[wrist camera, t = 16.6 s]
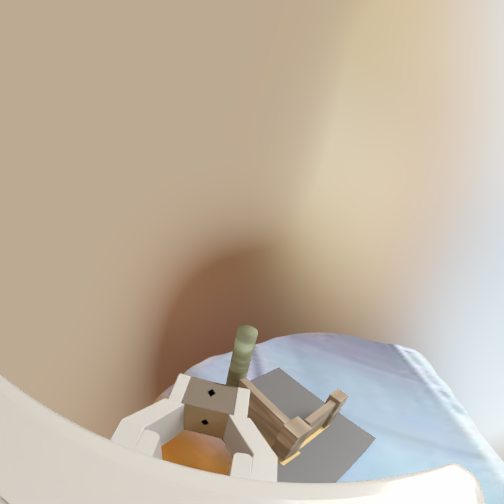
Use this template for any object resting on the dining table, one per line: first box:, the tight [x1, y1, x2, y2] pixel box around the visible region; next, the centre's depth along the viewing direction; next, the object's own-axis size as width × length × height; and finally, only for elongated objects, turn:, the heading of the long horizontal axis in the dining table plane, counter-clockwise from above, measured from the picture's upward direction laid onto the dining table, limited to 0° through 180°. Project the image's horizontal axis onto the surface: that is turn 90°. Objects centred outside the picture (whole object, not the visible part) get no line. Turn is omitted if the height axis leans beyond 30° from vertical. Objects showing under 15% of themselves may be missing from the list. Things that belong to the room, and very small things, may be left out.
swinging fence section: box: [226, 325, 312, 461], centre depth 37 cm, size 3×17×15 cm, turn 39°
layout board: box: [250, 368, 376, 483], centre depth 39 cm, size 26×21×1 cm
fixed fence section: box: [304, 389, 348, 440], centre depth 38 cm, size 2×9×8 cm, turn 131°
